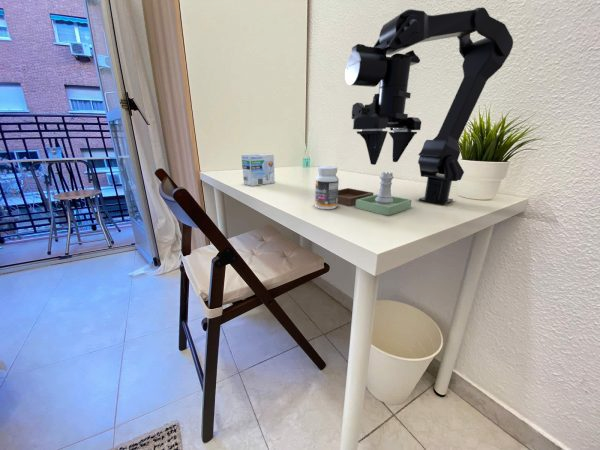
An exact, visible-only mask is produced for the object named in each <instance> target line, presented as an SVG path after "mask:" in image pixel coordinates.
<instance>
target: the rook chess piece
mask: <svg viewBox="0 0 600 450" xmlns="http://www.w3.org/2000/svg"><path fill="white" fill-rule="evenodd" d="M394 178H395V177H394V175H393V172H389V171H388V172H381V174H380V176H379V179H380V182H379V184H380V185H379V191H378V193H377V194H378V195H377V194H376V195H377V197H376V198H375V200H376V202H375V203H376V204H380V205H385V206H391V205H393V203H392V202H393V198H392V196H393V195H392V184H393V183H392V180H394Z"/></svg>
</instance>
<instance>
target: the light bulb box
mask: <svg viewBox="0 0 600 450" xmlns="http://www.w3.org/2000/svg"><path fill="white" fill-rule="evenodd" d="M240 157H241V167H242V168H241V169H242V181H243V184H244V185H246V186H247V185H248V186H251V187H255V186H260V185H261V186H262V185H269V184H275V182H276V181H275V180H276V179H275V155H274V154H269V153H257V154H256V153H254V154H241V156H240Z"/></svg>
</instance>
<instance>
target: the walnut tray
mask: <svg viewBox="0 0 600 450" xmlns="http://www.w3.org/2000/svg"><path fill="white" fill-rule="evenodd" d="M373 195H374V192H372V191H366V190H361V189H356V188H352V187H351V188H350V187H346V188H341V189H338V202H337V204H340V205H344V206H348V207H351V206H356V200H357V199H361V198H365V197H369V196H373Z"/></svg>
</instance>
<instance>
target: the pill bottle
mask: <svg viewBox="0 0 600 450" xmlns="http://www.w3.org/2000/svg"><path fill="white" fill-rule="evenodd" d="M317 173H318V175H317V176H316V178H315V195H314V205H315V207H316V208H318V209H320V210H334V209H335V208H337V207H338V203H337V202H338V190H339V181H340V179H339V177H338V176H337V174H338V167H337V166H332V165H322V166H318V167H317Z"/></svg>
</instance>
